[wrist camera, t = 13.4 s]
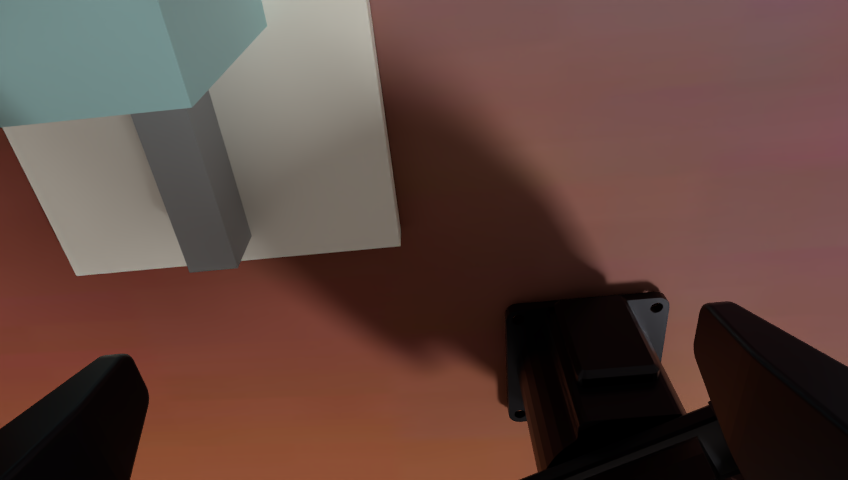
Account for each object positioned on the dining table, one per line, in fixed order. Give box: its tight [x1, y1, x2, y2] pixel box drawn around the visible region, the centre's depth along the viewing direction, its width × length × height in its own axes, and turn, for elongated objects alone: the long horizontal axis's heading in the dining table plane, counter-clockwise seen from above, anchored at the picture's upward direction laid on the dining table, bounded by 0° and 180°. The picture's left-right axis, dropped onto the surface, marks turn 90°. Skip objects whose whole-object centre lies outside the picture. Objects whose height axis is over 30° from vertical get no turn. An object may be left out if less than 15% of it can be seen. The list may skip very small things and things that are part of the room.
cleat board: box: [2, 0, 401, 276], centre depth 16 cm, size 18×12×4 cm, turn 6°
